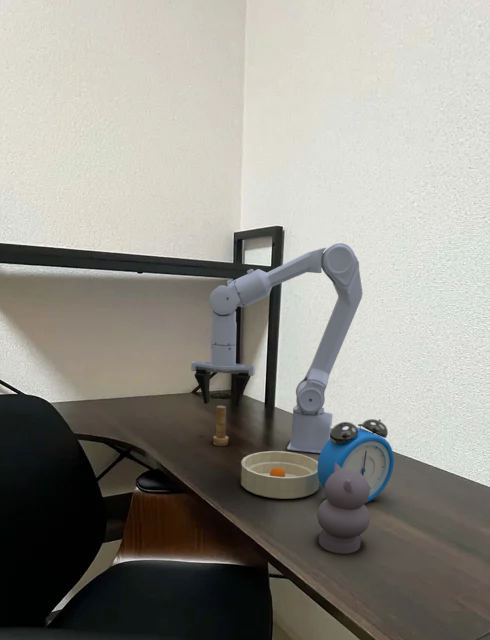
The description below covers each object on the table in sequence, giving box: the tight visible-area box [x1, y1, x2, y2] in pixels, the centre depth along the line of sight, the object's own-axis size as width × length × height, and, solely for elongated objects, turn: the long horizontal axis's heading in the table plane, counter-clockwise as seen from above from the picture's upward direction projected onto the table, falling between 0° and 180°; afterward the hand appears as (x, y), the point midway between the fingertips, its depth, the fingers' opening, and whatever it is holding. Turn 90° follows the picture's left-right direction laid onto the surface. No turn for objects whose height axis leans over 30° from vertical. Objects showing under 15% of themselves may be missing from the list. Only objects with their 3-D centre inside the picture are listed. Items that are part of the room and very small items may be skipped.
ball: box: [270, 467, 285, 477], centre depth 101 cm, size 3×3×3 cm
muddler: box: [212, 405, 229, 447], centre depth 122 cm, size 4×4×9 cm
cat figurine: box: [316, 462, 371, 554], centre depth 78 cm, size 8×8×12 cm
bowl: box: [240, 450, 320, 500], centre depth 100 cm, size 15×15×4 cm
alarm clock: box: [317, 418, 395, 504], centre depth 93 cm, size 13×6×15 cm, turn 118°
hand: (222, 404), depth 121 cm, fingers open, 7 cm apart
